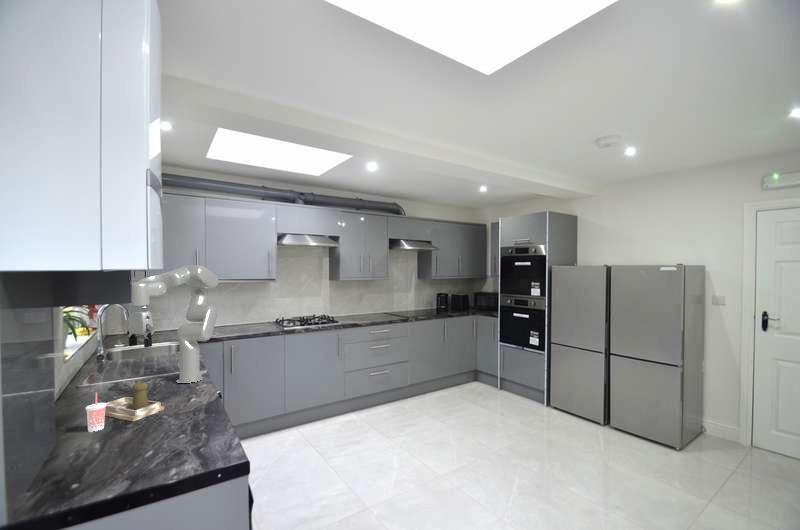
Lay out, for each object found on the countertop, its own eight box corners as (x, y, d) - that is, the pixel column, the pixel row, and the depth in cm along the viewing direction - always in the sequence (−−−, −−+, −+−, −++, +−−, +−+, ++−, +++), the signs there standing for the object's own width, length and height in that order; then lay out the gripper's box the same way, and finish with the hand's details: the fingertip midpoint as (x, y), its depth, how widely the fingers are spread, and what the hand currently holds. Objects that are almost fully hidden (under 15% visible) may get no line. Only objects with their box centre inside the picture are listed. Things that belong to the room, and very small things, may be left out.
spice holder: (127, 403, 163) (127, 395, 163) (164, 409, 155) (164, 401, 155) (95, 414, 151) (95, 405, 151) (132, 421, 143) (132, 412, 143)
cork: (139, 412, 148) (139, 385, 148) (127, 411, 149) (127, 385, 149) (152, 407, 153) (152, 381, 154) (140, 406, 155) (140, 380, 155)
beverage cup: (110, 427, 138) (110, 390, 138) (91, 433, 132) (91, 395, 132) (100, 424, 140) (100, 388, 140) (81, 431, 134) (82, 393, 135)
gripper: (161, 308, 164) (162, 345, 165) (134, 307, 170) (135, 343, 170) (144, 310, 157) (145, 349, 158) (118, 309, 163) (119, 347, 163)
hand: (140, 346), depth 164 cm, fingers open, 9 cm apart
